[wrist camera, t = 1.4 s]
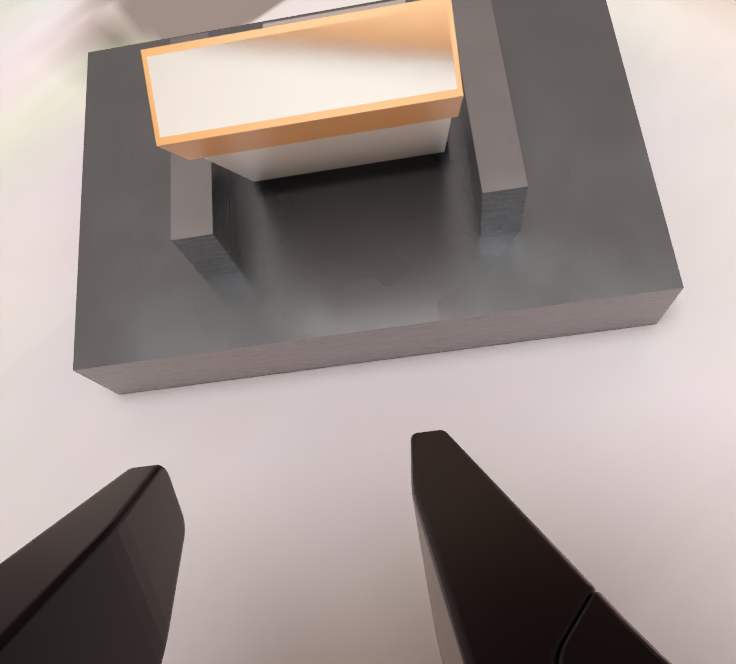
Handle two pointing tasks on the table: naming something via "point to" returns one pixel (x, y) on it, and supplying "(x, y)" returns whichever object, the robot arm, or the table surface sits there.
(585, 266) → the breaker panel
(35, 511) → the table surface
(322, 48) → the lever
